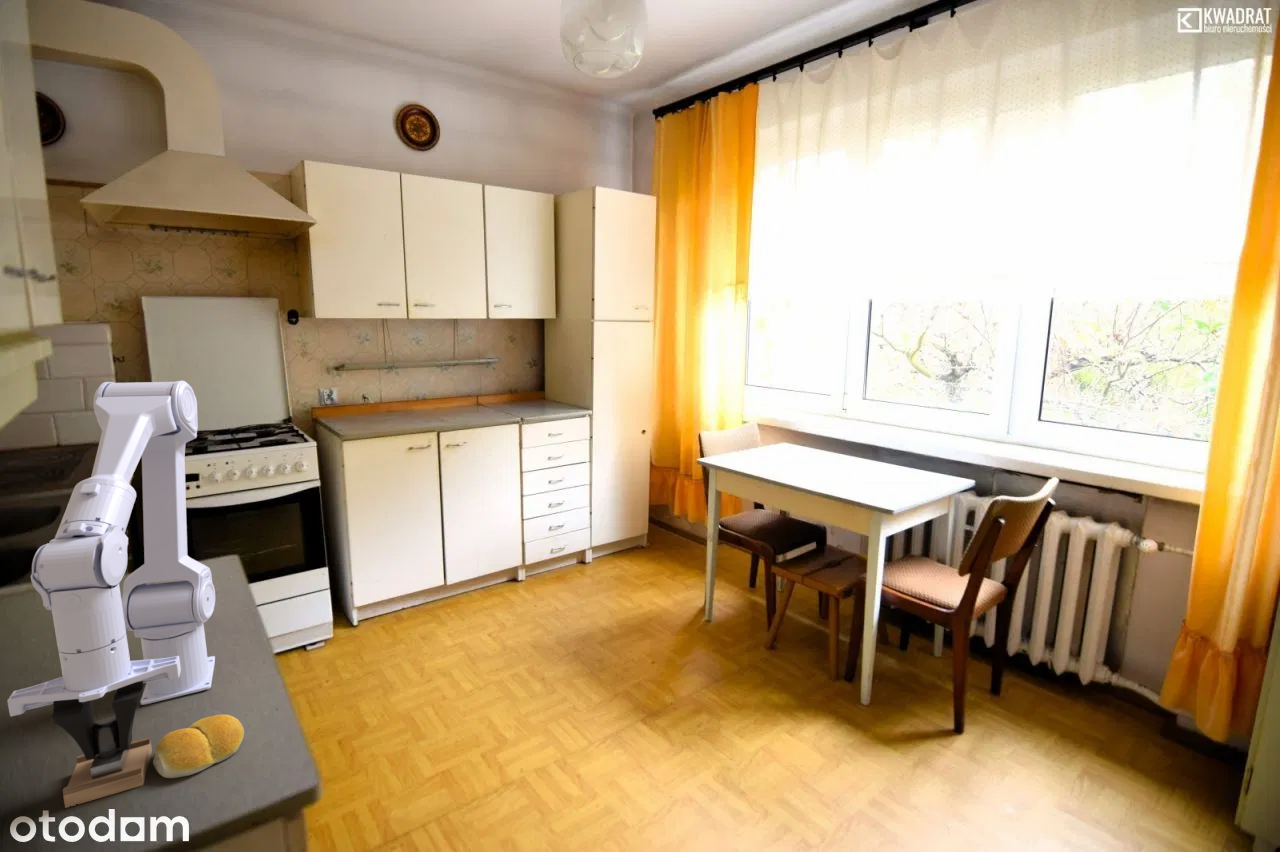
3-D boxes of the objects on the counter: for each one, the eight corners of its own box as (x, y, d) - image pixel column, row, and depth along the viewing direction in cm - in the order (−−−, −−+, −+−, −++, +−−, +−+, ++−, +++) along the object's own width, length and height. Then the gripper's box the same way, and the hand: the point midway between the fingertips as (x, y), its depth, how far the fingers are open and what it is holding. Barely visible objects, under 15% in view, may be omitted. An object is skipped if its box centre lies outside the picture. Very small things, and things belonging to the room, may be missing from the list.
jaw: (101, 755, 73) (95, 715, 72) (129, 748, 74) (124, 708, 73) (92, 780, 69) (85, 738, 68) (122, 772, 70) (116, 730, 69)
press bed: (80, 771, 73) (77, 755, 72) (152, 751, 76) (149, 736, 76) (65, 808, 67) (62, 790, 67) (143, 785, 71) (140, 768, 70)
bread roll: (256, 747, 77) (253, 718, 77) (170, 790, 70) (166, 759, 69) (227, 722, 82) (224, 694, 81) (145, 760, 75) (141, 730, 74)
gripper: (-12, 676, 62) (10, 796, 64) (169, 639, 69) (183, 748, 71) (13, 644, 68) (33, 755, 70) (177, 614, 75) (189, 715, 77)
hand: (109, 749), depth 71 cm, fingers closed on jaw, 2 cm apart
